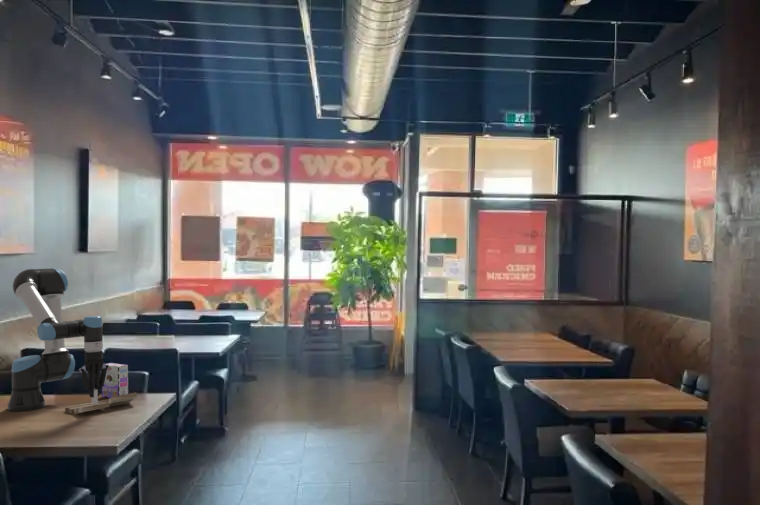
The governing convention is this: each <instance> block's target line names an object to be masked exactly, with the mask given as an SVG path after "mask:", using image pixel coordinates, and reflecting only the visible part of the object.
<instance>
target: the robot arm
mask: <svg viewBox="0 0 760 505" xmlns="http://www.w3.org/2000/svg"><path fill="white" fill-rule="evenodd" d="M68 288H69V280H68V277H67V274H66V273H65V271H63V270H62V269H60V268H52V267H51V268H29V269H25V270H22V271H21V272H19V273H18V274H17V275H16V276H15V278H14V280H13V283H12V291H13V294H14V295H15V296H16V297H17V298H18V299H19V300H22V302H23V303H24V306H25V307H26V308H27V310H28V312H29V313H30V314H31V316H32V318H33V319H34V321H35V322H36V324H37V325H38V326H37V333H36V334H37V336H38V339H39V340H41V341H44V342H43V343H44V350H43V352H42V353H41V355H39V354H33V355H27V356H22V357H19V358H16V359H14V360H13V362H12V363H11V364H12V365H11V370H10V371H11V394H10V396H9V400H8V403H7V411H9V412H24V411H25V412H27V411H33V410H39V409H42V408H44V407H46V406H45V405H46V400H45V398H44V395H43V393H42V389H41V387H42V386H41V384H42V383H47V382H54V381H55V382H56V381H62V380H65V379H68V378H70V377H72V375H73V373H74V371H75V366H76V360H75V358H74V357H75V356H74V355H73V354H71V353H69V352H70V351H69V349H68V348H66V345H65V339H71V338H73V339H74V338H83V347H84V350H83V351H85V352H84V355H83V356H84V358H83V359H84V364H83V366H82V367H80V368H78V372H80V375H81V379H82V382H83V387H84V388H85V390H88V391H89V397H90V398H91V402H92V404H93V405H96V404H98V401H99V398H98V397H99V396H100V390H101V389H102V387H103V386H104V382H105V377H106V372H107V369H108V367H109V365H106V364H107V363H105V362H104V351H103V346H104V344H103V324H104V323H103V317H102V316H100V315H91V316H90V315H89V316H85V317H83V319H74V320H68V321H66V320H65V321H63V311H62V310H63V309H62V301H61V300H62V298H63V296H64V294H65V292H67V290H68ZM87 374H88V375H87Z"/></svg>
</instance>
